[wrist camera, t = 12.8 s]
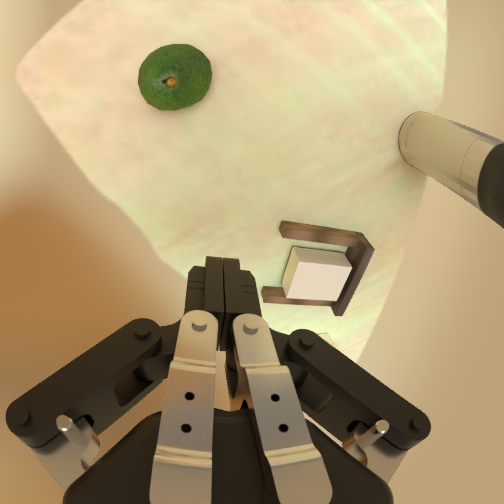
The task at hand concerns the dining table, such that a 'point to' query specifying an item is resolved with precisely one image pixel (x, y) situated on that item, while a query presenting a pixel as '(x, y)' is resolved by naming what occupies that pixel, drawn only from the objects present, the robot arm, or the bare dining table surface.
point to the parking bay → (356, 243)
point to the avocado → (174, 77)
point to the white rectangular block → (315, 274)
